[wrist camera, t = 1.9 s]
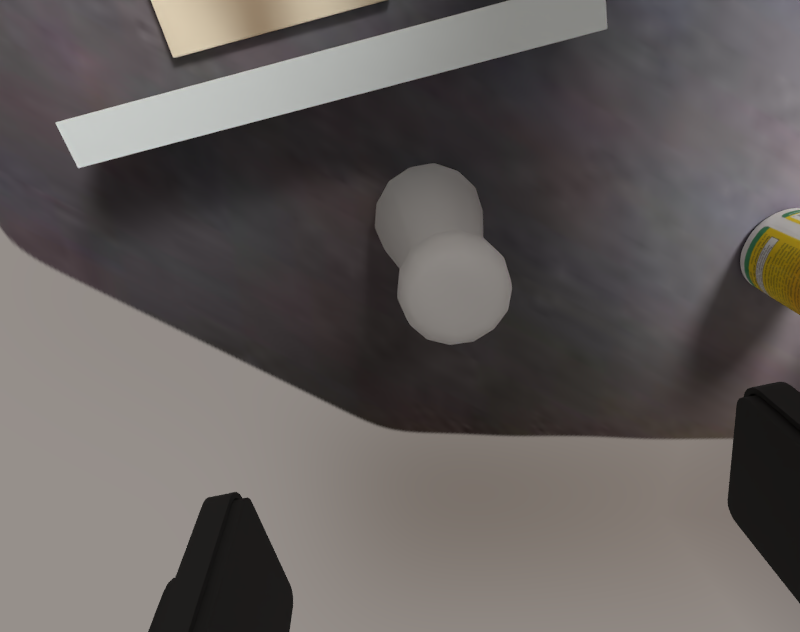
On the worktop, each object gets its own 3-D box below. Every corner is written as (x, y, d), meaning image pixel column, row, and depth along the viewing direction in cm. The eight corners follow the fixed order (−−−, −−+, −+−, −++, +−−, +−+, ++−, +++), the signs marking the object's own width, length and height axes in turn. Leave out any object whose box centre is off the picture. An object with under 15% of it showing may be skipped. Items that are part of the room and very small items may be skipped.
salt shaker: (359, 178, 29) (352, 258, 18) (455, 139, 29) (513, 196, 17) (396, 268, 32) (412, 390, 20) (486, 234, 31) (554, 340, 20)
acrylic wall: (563, -12, 26) (604, -26, 21) (567, 33, 27) (607, 29, 22) (106, 111, 27) (55, 122, 23) (124, 150, 28) (78, 168, 24)
